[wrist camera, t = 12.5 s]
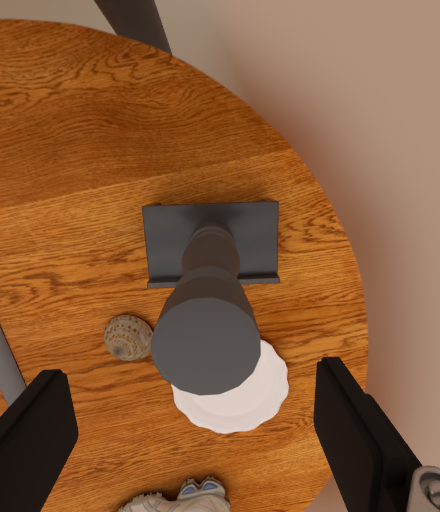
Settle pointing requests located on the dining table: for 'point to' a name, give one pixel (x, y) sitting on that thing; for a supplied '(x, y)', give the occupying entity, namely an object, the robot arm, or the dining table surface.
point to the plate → (240, 398)
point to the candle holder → (207, 319)
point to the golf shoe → (184, 499)
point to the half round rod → (9, 373)
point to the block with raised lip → (228, 214)
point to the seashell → (128, 337)
